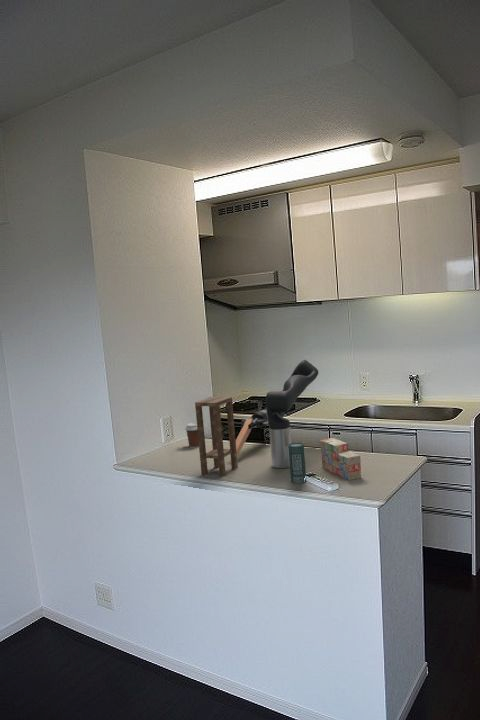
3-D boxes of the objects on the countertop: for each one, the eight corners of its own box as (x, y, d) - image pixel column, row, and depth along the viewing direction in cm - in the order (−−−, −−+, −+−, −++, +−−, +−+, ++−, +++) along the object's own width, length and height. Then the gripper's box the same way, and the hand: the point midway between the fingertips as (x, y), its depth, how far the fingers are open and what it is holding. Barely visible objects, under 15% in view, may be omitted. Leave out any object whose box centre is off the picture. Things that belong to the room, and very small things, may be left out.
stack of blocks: (361, 477, 226) (360, 447, 224) (348, 480, 224) (346, 450, 222) (334, 465, 246) (332, 437, 244) (321, 467, 244) (320, 439, 242)
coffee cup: (204, 447, 293) (202, 424, 292) (187, 449, 292) (185, 426, 291) (203, 443, 302) (201, 421, 301) (186, 445, 301) (184, 423, 300)
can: (306, 478, 230) (303, 442, 229) (306, 483, 224) (303, 446, 223) (291, 478, 231) (288, 442, 230) (290, 483, 225) (288, 446, 224)
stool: (237, 467, 253) (231, 397, 250) (223, 476, 242) (217, 402, 238) (216, 466, 258) (210, 396, 255) (201, 474, 247) (195, 402, 243)
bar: (248, 423, 279) (246, 418, 277) (254, 423, 277) (252, 418, 276) (232, 454, 264) (230, 449, 262) (238, 454, 262) (236, 450, 261)
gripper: (274, 426, 285) (259, 434, 269) (249, 425, 291) (233, 433, 276) (273, 411, 284) (258, 419, 269) (248, 411, 290) (232, 418, 275)
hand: (245, 426), depth 272 cm, fingers closed on bar, 3 cm apart
